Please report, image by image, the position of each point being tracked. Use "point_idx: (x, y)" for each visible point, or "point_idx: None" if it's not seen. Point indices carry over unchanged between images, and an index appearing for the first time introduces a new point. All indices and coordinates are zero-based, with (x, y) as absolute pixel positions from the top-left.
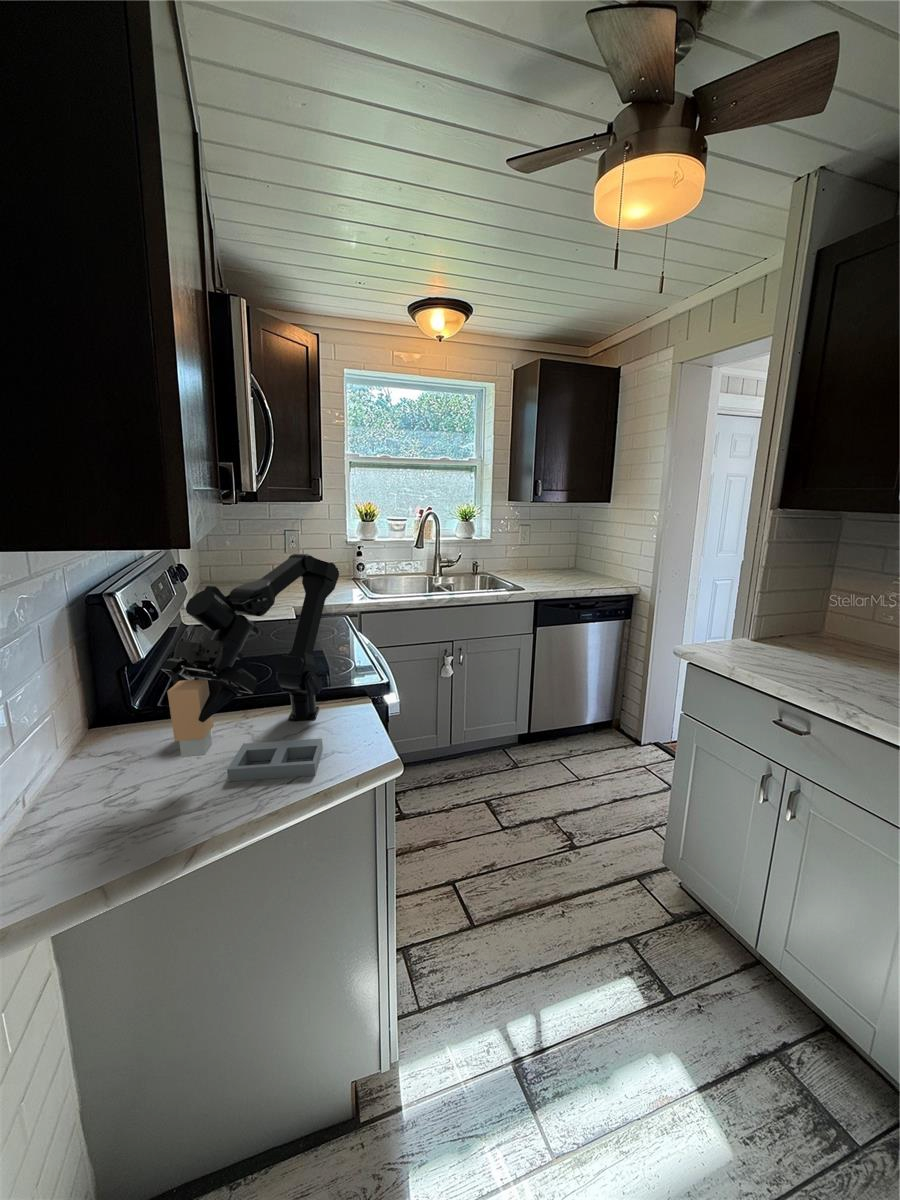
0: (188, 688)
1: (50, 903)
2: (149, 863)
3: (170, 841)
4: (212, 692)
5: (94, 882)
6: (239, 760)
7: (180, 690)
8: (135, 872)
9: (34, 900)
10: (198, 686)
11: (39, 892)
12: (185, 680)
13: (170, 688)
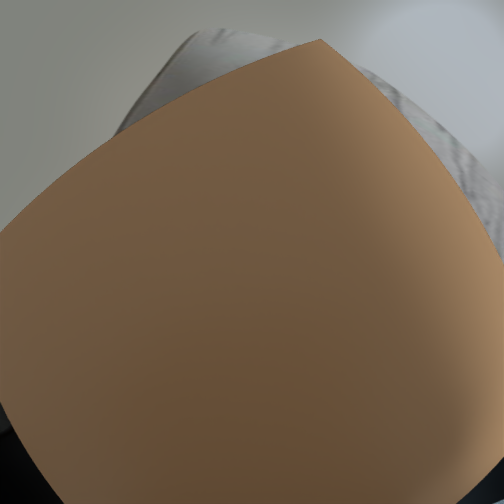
0: (70, 247)
1: (192, 45)
2: (131, 118)
3: None
4: (2, 414)
5: (173, 73)
6: None
7: (141, 124)
8: (136, 103)
9: (216, 39)
10: (6, 380)
11: (224, 44)
12: (490, 470)
13: (400, 113)
